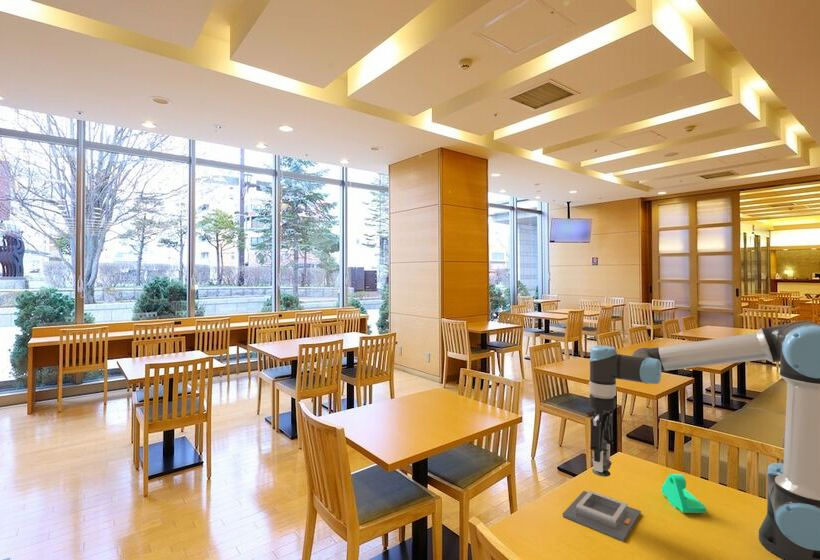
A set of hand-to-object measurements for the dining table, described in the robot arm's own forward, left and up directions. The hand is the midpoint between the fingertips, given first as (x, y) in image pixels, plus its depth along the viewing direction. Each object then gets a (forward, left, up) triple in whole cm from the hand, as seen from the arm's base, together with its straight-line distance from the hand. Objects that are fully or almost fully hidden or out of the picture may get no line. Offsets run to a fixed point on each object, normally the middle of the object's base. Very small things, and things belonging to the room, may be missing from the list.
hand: (601, 466), depth 132 cm
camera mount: (-18, -24, -16) cm, 34 cm away
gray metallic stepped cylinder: (0, 0, -2) cm, 2 cm away
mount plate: (0, 0, -16) cm, 16 cm away
